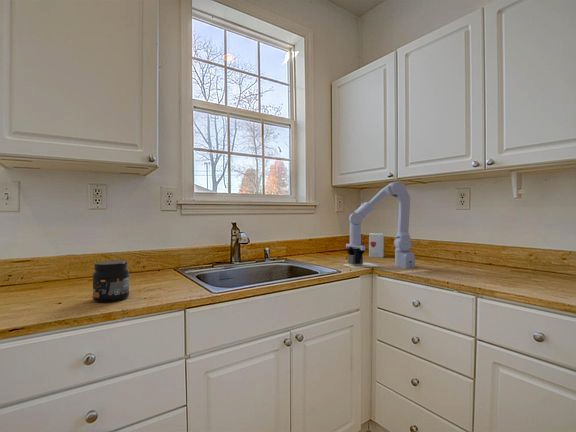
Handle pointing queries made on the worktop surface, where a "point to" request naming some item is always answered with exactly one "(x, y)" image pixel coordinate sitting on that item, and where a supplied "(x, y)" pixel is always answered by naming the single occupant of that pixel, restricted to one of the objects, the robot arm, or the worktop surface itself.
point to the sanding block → (352, 260)
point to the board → (362, 265)
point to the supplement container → (110, 281)
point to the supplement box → (376, 245)
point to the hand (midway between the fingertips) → (355, 262)
